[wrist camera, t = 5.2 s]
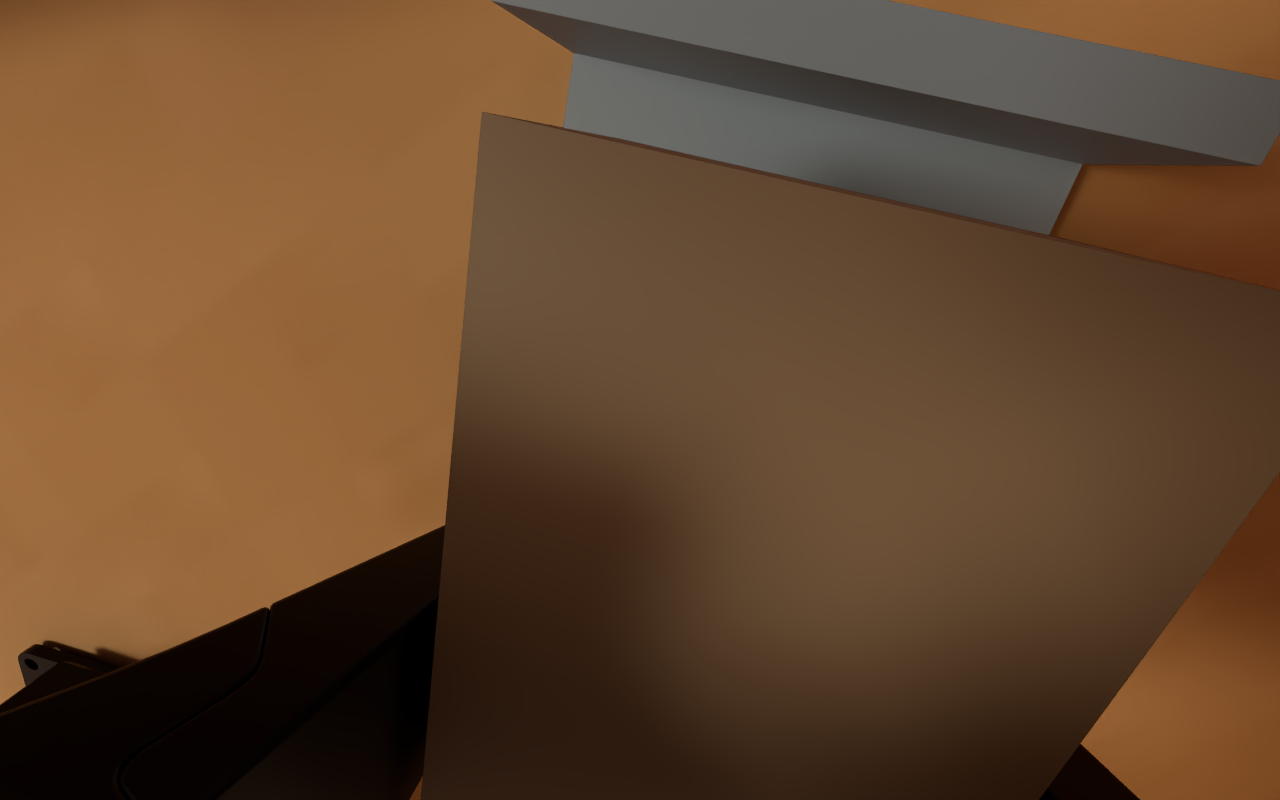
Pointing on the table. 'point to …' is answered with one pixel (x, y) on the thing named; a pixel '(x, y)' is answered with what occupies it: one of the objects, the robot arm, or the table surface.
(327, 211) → the table surface
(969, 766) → the brown rectangular block
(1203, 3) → the table surface
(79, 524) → the table surface
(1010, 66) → the cradle
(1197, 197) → the table surface
